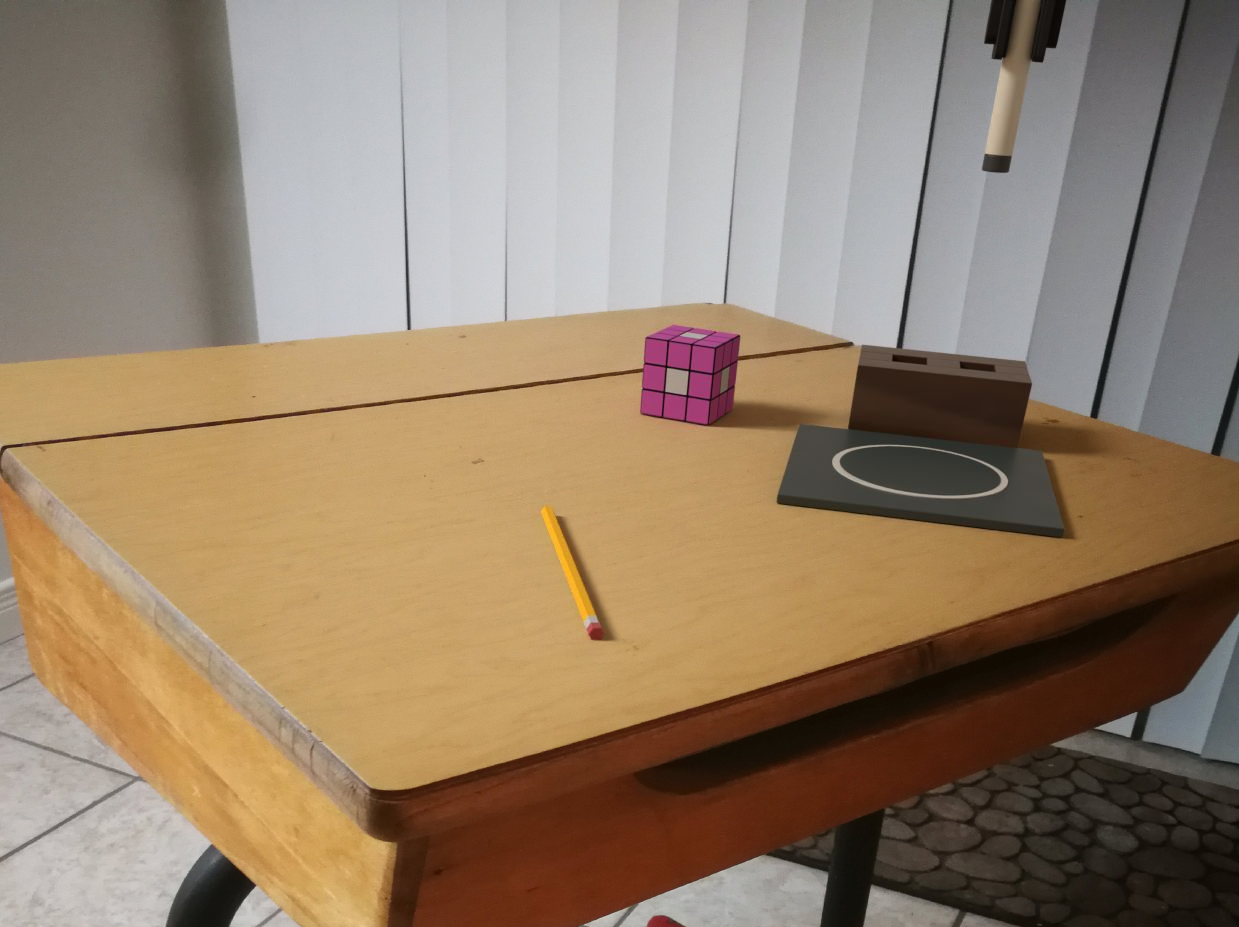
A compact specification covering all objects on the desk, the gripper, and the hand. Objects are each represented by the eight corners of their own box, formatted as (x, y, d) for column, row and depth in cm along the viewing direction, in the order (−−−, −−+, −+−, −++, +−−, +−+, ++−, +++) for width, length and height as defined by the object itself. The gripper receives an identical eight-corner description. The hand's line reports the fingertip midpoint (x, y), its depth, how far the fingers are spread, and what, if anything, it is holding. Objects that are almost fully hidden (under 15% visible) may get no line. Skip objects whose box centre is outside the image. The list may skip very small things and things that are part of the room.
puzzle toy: (666, 398, 104) (672, 324, 101) (733, 409, 102) (741, 334, 99) (639, 413, 99) (644, 336, 96) (708, 425, 98) (716, 347, 94)
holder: (851, 408, 105) (861, 344, 102) (1010, 425, 103) (1025, 361, 100) (847, 432, 98) (857, 364, 96) (1016, 451, 96) (1032, 383, 94)
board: (1040, 458, 95) (1042, 448, 95) (1062, 537, 80) (1065, 526, 80) (798, 431, 98) (799, 421, 97) (776, 503, 83) (777, 492, 82)
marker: (1007, 171, 87) (1050, -44, 81) (1009, 173, 86) (1053, -45, 79) (980, 168, 87) (1021, -45, 81) (982, 171, 86) (1023, -47, 79)
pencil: (587, 640, 63) (588, 627, 63) (540, 516, 78) (541, 505, 78) (603, 640, 64) (604, 627, 63) (553, 517, 79) (554, 506, 78)
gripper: (1220, -299, 75) (1133, 67, 85) (947, -308, 77) (893, 51, 87) (1249, -329, 69) (1152, 70, 79) (951, -337, 71) (893, 52, 81)
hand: (1017, 57), depth 83 cm, fingers closed on marker, 1 cm apart
